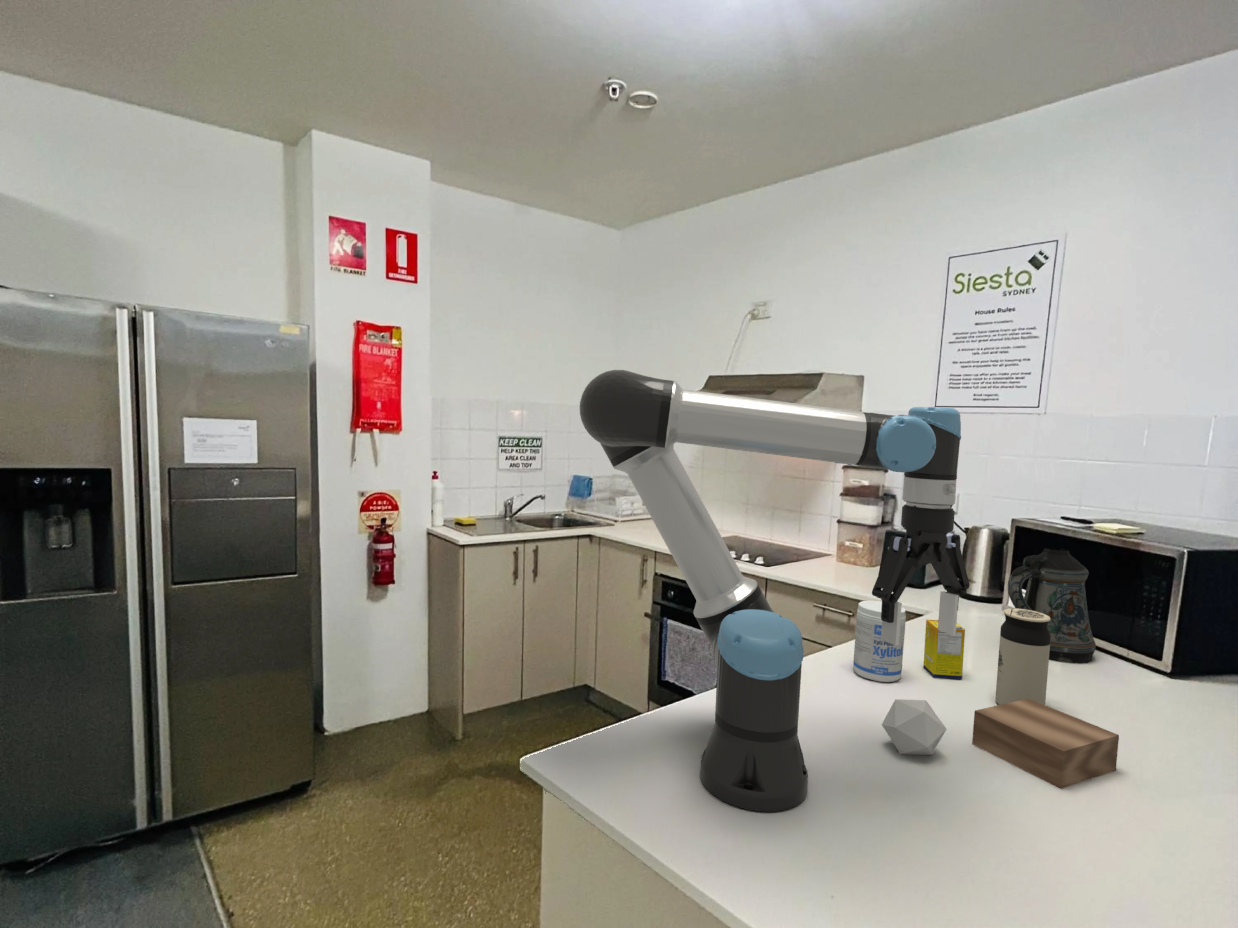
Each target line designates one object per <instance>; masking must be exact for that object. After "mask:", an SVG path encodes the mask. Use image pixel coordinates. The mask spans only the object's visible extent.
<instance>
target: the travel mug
mask: <svg viewBox="0 0 1238 928" xmlns="http://www.w3.org/2000/svg"><path fill="white" fill-rule="evenodd" d="M1002 611H1003V614H1004V618H1005V620H1004V621H1003V623H1002V624H1001V626H1000V632H999V633H1000V634H999V646H998V647H999V648H998V659H997V660H998V661H997V671H996V673H997V674H996V683H995V685H996V686H995V703H997V705H1002V704H1006V703H1010V702H1015V701H1019V700H1024V699H1028V698H1029V699H1031V700H1034V701H1036V702H1039V703H1041V704H1044V705H1046V697H1047V686H1048V676H1049V675H1048V674H1049V661H1050V660H1049V651H1050V639H1051V635H1050V633H1049V631H1048V629H1047V625H1048V622H1049V621H1050V617H1049V616H1047V615H1045V614H1043V613H1040V612H1036V611H1032V610H1026V609H1016V608H1015V607H1014V608H1006V609H1004V610H1002Z"/></svg>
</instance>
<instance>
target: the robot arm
mask: <svg viewBox="0 0 1238 928" xmlns="http://www.w3.org/2000/svg"><path fill="white" fill-rule="evenodd" d="M579 416H580V420H581V422H582V425H583V428H584V429H585V430H586V432H587V433H588V434H589V436H591V438H593V439H594V440H595V441H596V442H598V443H599V444H600V446H601V448H602V449H603V451H604V453H605V455H606V456H607V458H608V460H609V462H610V464H611V465H612V468H613V469H614V470H617V471H621V472H622V473H623V472H624V473H625V474H627V476H628V478H629V480H630V481H631V483H632V485H633V487H634V488H635V490H636V491H637V493H638V496H639V497H640V499H641V501H642V503H643V505H644V506H645V509H646V510H647V512H648V514H649V516H650V518H651V519H652V521H653V523H654V525H655V527H656V528H657V530H658V533H659V534H660V536H661V538H662V540H663V542H664V543H665V545H666V547H667V549H668V550H669V552H670V554H671V556H672V558H673V560H674V561H675V563H676V565H677V567H678V569H679V572H680V573H681V574H682V576H683V577H684V578H683V579H684V580H685V582H686V584H687V585H688V587H689V589H690V591H691V593H692V595H693V596H694V598H695V600H696V602H695V605H694V609H693V615H694V617H695V619H696V621H697V622H698V625H699V627H700V629H701V630H702V632H703V634H704V636H705V637H706V639H707V641H708V643H709V646H710V647H711V649H712V652H713V656H714V661H715V666H716V667H715V668H716V691H715V706H714V707H715V711H714V724H713V727H712V730H711V732H710V735H709V738H708V741H707V744H706V747H705V749H704V750H703V753H702V755H701V758H700V767H699V770H700V771H699V777H700V781H701V783H702V784H703V786H704V787H705V789H706V790H707V791H708V792H709V793H711V794H712V795H713V796H714V797H716V798H717V799H719V800H721V801H723V802H725V803H727V804H729V805H731V806H735V807H738V808H741V809H745V810H749V811H755V812H756V811H757V812H769V813H770V812H780V811H784V810H788V809H789V810H790V809H792V808H795V807H796V806H798V805H799V804H801V803H802V802H804V800H805V799H806V798H807V794H808V786H809V785H808V784H809V775H808V770H807V766H806V764H805V760H804V759H805V758H804V753H803V750H802V747H801V744H800V739H799V736H798V735H799V734H798V732H799V731H798V730H799V729H798V728H799V717H800V715H799V714H800V713H799V711H800V699H801V698H800V697H801V683H802V682H801V681H802V680H801V679H802V667H803V666H802V665H803V664H802V663H803V660H804V654H805V653H804V645H803V635H802V632H801V630H800V628H799V627H798V626H797V624H796V623H795V622H794V621H792V619H790V618H787V617H783V616H782V615H781V614H779V613H777V612H775V611H774V610H773V608H772V607H771V606H770V603H769V602H768V600H767V597H766V596H765V594H764V593H763V591H762V589H761V588H760V585H759V583H758V582H757V580H755V579H753V578H751V577H747V576H745V575H743V573H742V572H741V570H740V568H739V566H738V564H737V562H736V561H735V559H734V557H733V556H732V553H731V552H730V550H729V548H728V546H727V544H726V542H725V541H724V538H723V537H722V535H721V533H720V531H719V530H718V528H717V526H716V524H715V523H714V520H713V518H712V517H711V514H710V513H709V511H708V510H707V508H706V506H705V504H704V502H703V500H702V498H701V496H700V494H699V493H698V491H697V489H696V487H695V486H694V483H693V481H692V480H691V479H690V476H689V474H688V473H687V471H686V468H685V467H684V465H683V464H682V462H681V460H680V458H679V456H678V453H676V451H675V449H674V444H676V443H680V444H687V445H695V446H696V445H697V446H701V447H702V446H703V447H712V448H719V449H726V450H732V451H733V450H735V451H743V452H750V453H757V454H766V455H772V456H773V455H774V456H781V457H788V458H789V457H790V458H796V459H797V458H798V459H803V460H806V459H807V460H812V461H822V462H827V463H828V462H829V463H835V464H843V465H848V466H859V467H865V468H872V469H873V468H874V469H879V470H880V469H881V470H889V471H890V472H891V471H892V472H895V473H903V485H902V486H903V487H902V499H901V500H902V501H903V502H905V504H903V505H902V507H901V517H900V518H901V520H900V525H901V527H902V528H903V529H905V535H904V537H901V536H895V535H892V536H891V537H890V538H889V545H888V551H887V552H886V555H885V558H884V561H883V563H882V565H881V568H880V570H879V573H878V576H877V577H876V580H875V584H874V585H873V588H872V591H871V594H872V596H873V597H875V598H877V599H880V600H881V602H882V609H881V620H882V632H881V640H883V641H886V642H888V643H891V644H894V645H899V636H900V621H901V607H903V606H902V604H903V603H902V602H901V601H899V599H900V598H901V596H902V594H903V592H905V589H906V588H907V585H908V584H909V582H911V580H912V577H914V574H915V573H916V571H917V570H919V569H921V568H922V567H923V566H927V565H929V564H931V566H932V568H933V570H934V572H935V574H936V575H937V577H938V580H939V581H940V584H941V586H942V587H943V589H944V590H941V591H940V592H939V609H938V619H937V620H938V630H940V631H943V632H946V633H949V634H952V635H955V634H956V623H957V621H958V610H959V602H960V601H959V599H960V595H961V596H965V595H967V592H968V589H969V588H970V581H969V577H968V573H967V569H966V565H965V561H964V557H963V552H962V550H961V536H960V535H959V534H956V533H951V532H953V531H954V529H955V528H954V526H955V524H954V523H955V513H956V511H955V510H954V509H953V508H952V507H951V506H954V505H956V495H957V493H956V492H957V479H958V467H959V466H958V465H959V455H960V444H961V439H962V435H961V433H962V432H961V431H962V422H961V414H960V411H959V410H958V409H956V408H955V407H946V406H945V407H943V406H941V407H940V406H937V407H936V406H915V407H914V406H913V407H911V408H910V409H909V410H908V413H907V414H898V415H893V414H885V413H883V414H882V413H875V412H864V411H861V410H860V411H859V410H853V409H844V408H837V407H836V408H835V407H828V406H821V405H819V406H818V405H811V404H803V403H796V402H795V403H794V402H789V401H781V400H772V399H771V400H770V399H766V398H765V399H763V398H758V397H757V398H756V397H750V396H749V397H747V396H740V395H731V394H725V393H718V392H717V393H716V392H707V391H700V390H692V389H683V388H682V386H681V385H680V384H679V383H678V382H677V380H670V379H663V378H656V377H652V376H647V375H643V374H640V373H636V372H633V371H630V370H625V369H612V370H608V371H605V372H602V373H600V374H599V375H597V376H595V377H594V378H592V379H591V381H589V383H588V384H587V385H586V387H584V390H583V392H582V395H581V398H580V401H579ZM957 624H958V623H957Z"/></svg>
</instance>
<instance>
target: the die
mask: <svg viewBox="0 0 1238 928" xmlns="http://www.w3.org/2000/svg"><path fill="white" fill-rule="evenodd" d="M881 726H882V728H883V730H885V732H886V734H887V736H888V737H889V739H890V740H891V742H892V743H893V745H894V747H895V748H896V750H897V752H899V754H900V755H918V756H919V755H921V756H932V755H933V754H934V752H935V750H936V749H937V747H938V746H939V743H940V742H941V740H942V738H943V736H944V735H945V733H946V731H947V727H946V726H945V724H943V722H942V720H941V718H939V716H938V715H937V714H936V711H934V709H933V708H932V706H931V705H930V704H929V702H928V701H927V700H926V699H900V698H899V699H894V701H893V703H892V705H891V706H890V708H889V711H888V712H887V714H886V715H885V718H884V720H883V721H882V723H881Z"/></svg>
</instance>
